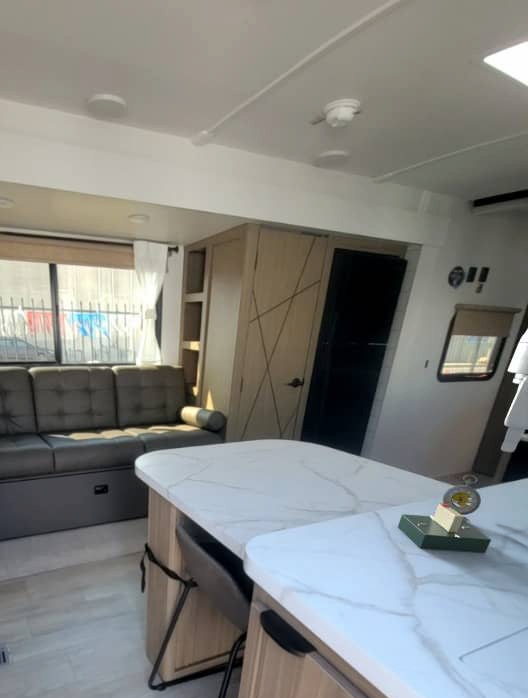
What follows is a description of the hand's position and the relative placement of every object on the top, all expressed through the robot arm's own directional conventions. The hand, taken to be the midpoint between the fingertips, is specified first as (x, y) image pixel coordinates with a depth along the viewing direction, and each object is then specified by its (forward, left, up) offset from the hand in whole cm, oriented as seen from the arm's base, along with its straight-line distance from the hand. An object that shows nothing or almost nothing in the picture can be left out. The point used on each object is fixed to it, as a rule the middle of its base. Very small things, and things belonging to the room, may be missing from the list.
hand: (509, 445), depth 72 cm
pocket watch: (-4, -11, -20) cm, 23 cm away
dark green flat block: (+5, -1, -20) cm, 21 cm away
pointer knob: (+5, -1, -17) cm, 18 cm away
